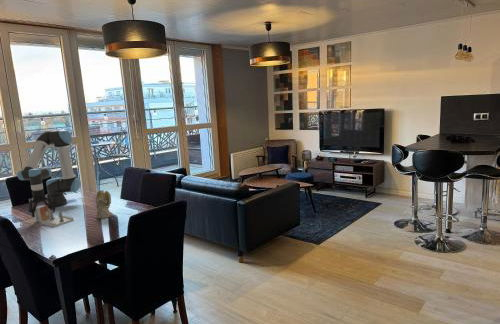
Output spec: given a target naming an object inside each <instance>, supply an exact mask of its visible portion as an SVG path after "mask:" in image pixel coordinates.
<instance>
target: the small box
mask: <svg viewBox="0 0 500 324" xmlns="http://www.w3.org/2000/svg"><path fill="white" fill-rule="evenodd" d="M35 212H36V217H37V221H35V222H36V223H41V222H40V221H41V220H43V221H45V220H49V219H51V217H49V211H48V205H45V204H42V205H39V206H38V205H37V206H36V209H35Z"/></svg>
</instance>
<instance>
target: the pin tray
mask: <svg viewBox="0 0 500 324" xmlns="http://www.w3.org/2000/svg"><path fill="white" fill-rule="evenodd" d="M49 211H50V219H47V220H44V221H43V220H41V221H40V222H39V223H40V224H41V225H46V226H50V227H53V228H55V227H58V226H62V225H64V224H67V223H70V222H73V221H74V217H73V216H66V215H63V211H59V212H58V215H57V216H55V217H54V211H53V209H51V210H49Z"/></svg>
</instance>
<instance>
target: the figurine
mask: <svg viewBox="0 0 500 324" xmlns="http://www.w3.org/2000/svg"><path fill="white" fill-rule="evenodd" d="M95 202H96V209H97V211H96V212H97V213H96V220H104V219H108V218H111V217H113V213H112V212H110V210H109V209H110V207H111V204H112V195H111V193H110V192H109V191H108V190H105V191H104V190H98V191H97V192H96V196H95Z"/></svg>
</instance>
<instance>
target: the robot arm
mask: <svg viewBox="0 0 500 324" xmlns="http://www.w3.org/2000/svg"><path fill="white" fill-rule="evenodd" d="M72 142H73V137H72V133H70V131H69V130H67V129H55V130H54V129H53V130H46V131H44V132H43V133H41V134H40V135H39V136H38V137H37V139H36V140H35V142H34V144H35V146H34V147H33V149H32V151H31V153H30V155H29V158H28V160H27V162H26V164H25V166H24V168H23V169H21V170H18V171H17V173H16V174H17V178H18V180H20V181H29V182H30V189H31V194H32V198H28V199H27V200H28V207H27V208H28V210H27V211H28V213H31V217H32V218H33V221H34V222H36V221H37V217H36V212H35V209H36V207H38V204H39V203H43V205H48V211H49V210H52V208H54V207H55V208H56V207H60V206H64V205H66V204H68V200H67V198H66V196H65V194H64V193H75V192H77V191H79V189H80V188H81V180H80V178H78V177H77V175H76V174H75V173H74V168H73V164H72V158H71V153H70V148H69V147H70V145H71V143H72ZM50 145H54V148H56V150H57V155H58V160H59V164H60V170H61V175H62V176H61V177H58V176H57V177H53V178H50V177H51V176H52V175H53V172H52V170H51V169H50V168H48V167H47V168H39V167H38V166H39V163H40V161H41V160H42V157H43V155H44V153H45V151H46V149H47V148H49V146H50ZM49 178H50V179H49ZM46 179H47V180H46ZM43 180H46V182H45V183H46V191H47V194H45V189H44V183H43ZM49 217H50V211H49ZM50 218H51V217H50Z"/></svg>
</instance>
